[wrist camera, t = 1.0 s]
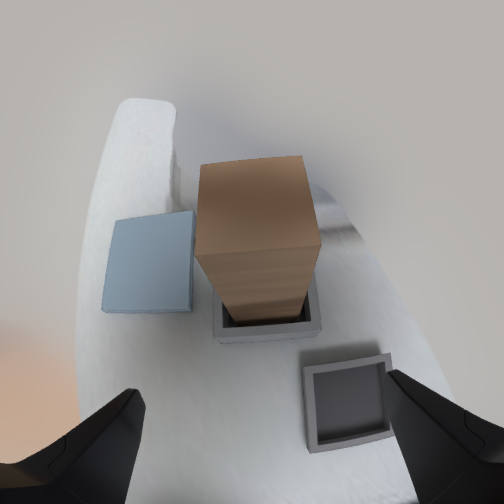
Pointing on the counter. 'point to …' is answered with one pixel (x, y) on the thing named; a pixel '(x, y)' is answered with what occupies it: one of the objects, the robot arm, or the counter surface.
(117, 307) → the pad
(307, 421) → the tray
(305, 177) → the walnut block
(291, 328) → the sleeve
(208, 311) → the counter surface
